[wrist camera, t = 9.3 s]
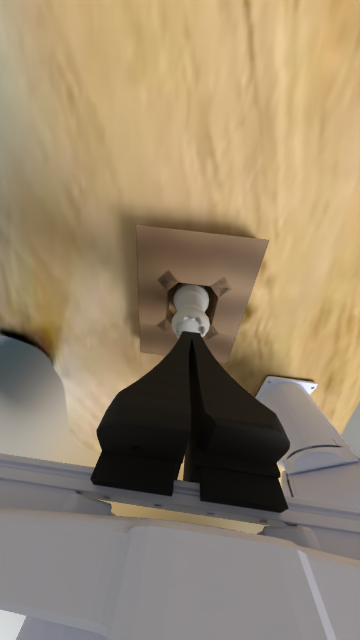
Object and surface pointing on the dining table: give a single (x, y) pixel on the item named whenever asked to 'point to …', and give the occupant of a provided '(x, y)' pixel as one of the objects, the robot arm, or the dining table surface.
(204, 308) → the rook chess piece
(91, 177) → the dining table surface
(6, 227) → the dining table surface
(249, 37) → the dining table surface
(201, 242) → the socket board
